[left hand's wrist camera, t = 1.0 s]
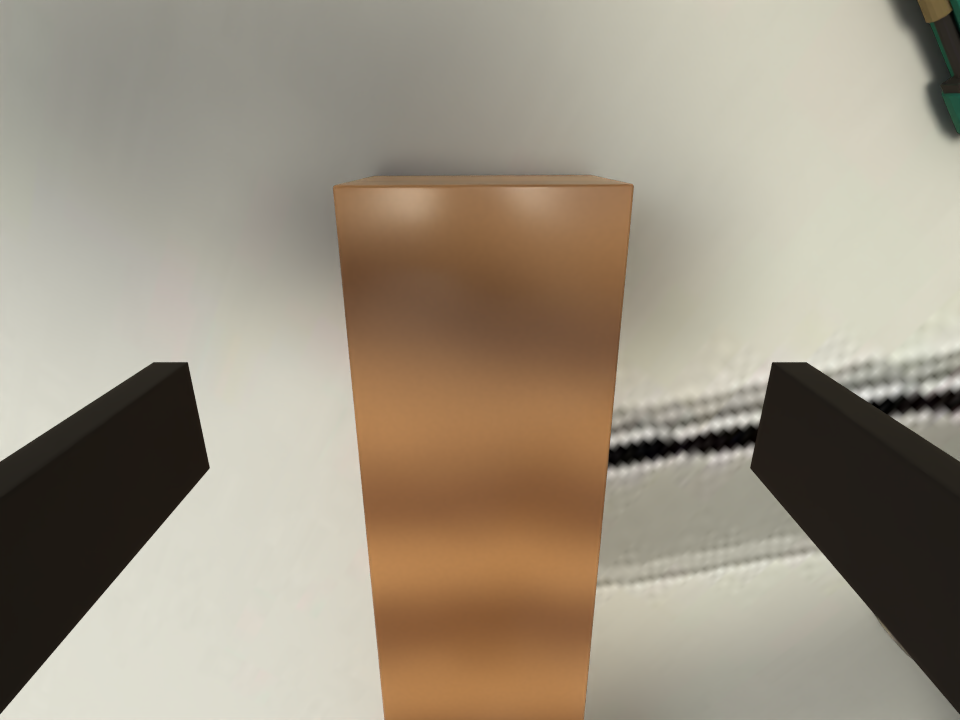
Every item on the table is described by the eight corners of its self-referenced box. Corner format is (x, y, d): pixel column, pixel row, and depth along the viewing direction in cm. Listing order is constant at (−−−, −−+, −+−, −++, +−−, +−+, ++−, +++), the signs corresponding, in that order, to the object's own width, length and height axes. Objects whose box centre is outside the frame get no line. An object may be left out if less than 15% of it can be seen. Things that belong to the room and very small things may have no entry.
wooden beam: (372, 175, 25) (331, 185, 18) (592, 174, 25) (634, 183, 18) (422, 879, 45) (412, 1011, 38) (545, 879, 45) (556, 1011, 38)
